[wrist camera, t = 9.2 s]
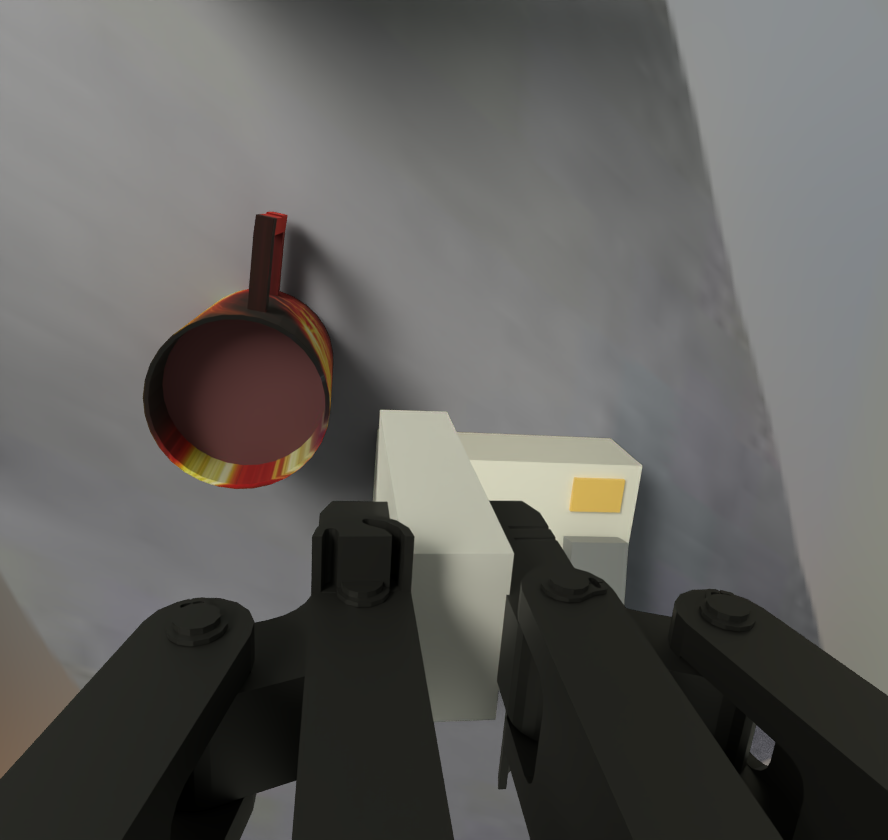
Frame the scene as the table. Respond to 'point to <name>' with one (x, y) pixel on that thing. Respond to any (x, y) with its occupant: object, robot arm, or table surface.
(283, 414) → the mug
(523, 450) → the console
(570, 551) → the block
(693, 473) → the table surface
